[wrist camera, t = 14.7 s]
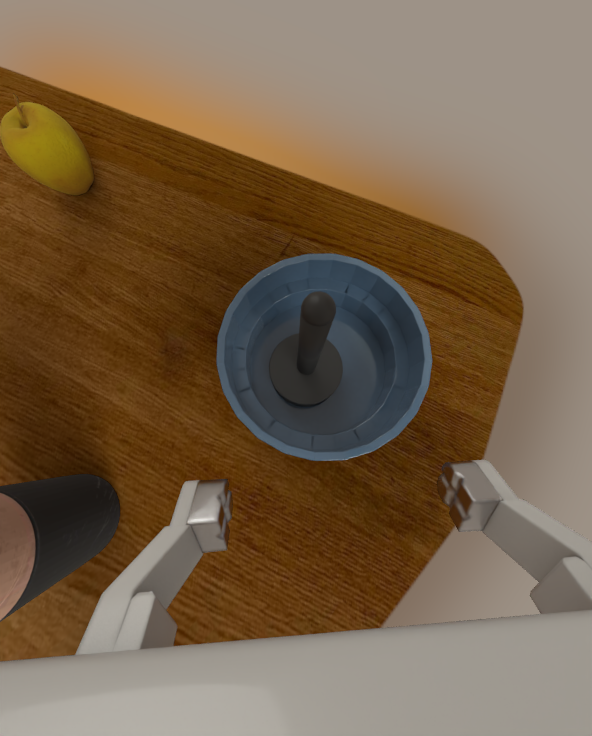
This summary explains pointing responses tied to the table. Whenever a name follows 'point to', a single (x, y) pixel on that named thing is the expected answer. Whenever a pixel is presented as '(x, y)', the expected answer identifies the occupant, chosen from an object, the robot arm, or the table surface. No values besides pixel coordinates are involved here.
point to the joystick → (308, 356)
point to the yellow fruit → (46, 148)
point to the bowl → (352, 340)
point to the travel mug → (51, 532)
